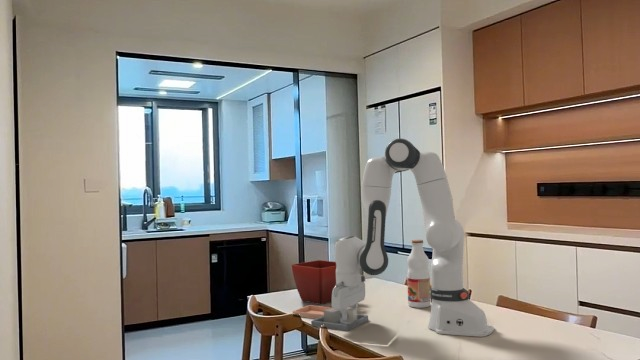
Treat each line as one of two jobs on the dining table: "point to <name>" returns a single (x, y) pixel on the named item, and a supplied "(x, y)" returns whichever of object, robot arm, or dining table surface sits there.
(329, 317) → the stone
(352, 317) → the stone
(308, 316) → the tray
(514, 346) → the dining table surface
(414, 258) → the fruit juice
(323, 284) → the plant pot
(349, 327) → the tray
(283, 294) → the dining table surface
